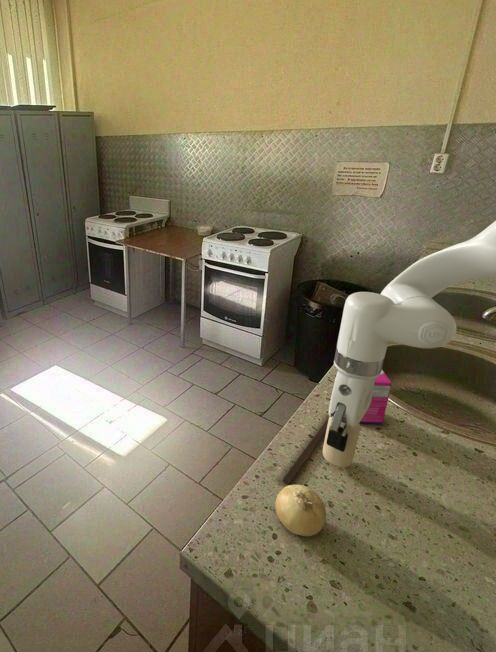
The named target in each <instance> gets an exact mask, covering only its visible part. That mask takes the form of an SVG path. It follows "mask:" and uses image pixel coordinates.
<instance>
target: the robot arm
mask: <svg viewBox="0 0 496 652" xmlns="http://www.w3.org/2000/svg"><path fill="white" fill-rule="evenodd" d="M481 279H496V220H494V221H493V222H492V223H491V224H489V225H488V226H487V227H486V228H485V229H483V230H482V231H481V232H480V233H478V234H476V235H475V236H473V237H472V238H469V239H467V240H464V241H462V242H460V243H457V244H453V245H451V246H448V247H446V248H443V249H441V250H439V251H436V252H433V253H430V254H429V255H427V256H424V257H422V258H421V259H419V260H416V262H413V263H412V264H411V265H410V266H407V268H406V269H405V270H403V271H401V273H399V274H398V275H397V276H396V277H394V278H393V280H391V281H390V282H389V283H387V285H386V286H385V287H384V288H383V290H381V292H380V293H376V292H371V291H357V292H353V293H351V294H349V295H348V296H347V297H346V299H345V302H344V306H343V310H342V316H341V322H340V326H339V332H338V337H337V342H336V348H335V353H334V359H333V365H334V367H335V368H336V369H337V372H336V375H335V378H334V383H333V387H332V391H331V397H330V401H329V406H328V417H329V416H330V417H333V418H332V421H331V425H330V428H329V433H328V438H327V445H329V446H331V447H333V448H335V449H337V450H339V451H341V452H344V450H345V447H346V443H347V438H348V434H347V431H348V427H349V425H350V426H352V427H355V426H357V425H358V424H360V423H359V422H360V421H361V419H362V418H363V416H364V415H365V413H366V411H367V410H368V408H369V406H370V403H371V399H372V394H373V389H374V383H375V378H376V377H378V376H379V375H380V374H381V370H383V367H384V362H385V357H386V353H387V349H388V345H389V343H393V344H394V343H395V344H399V345H404V346H408V347H413V348H419V349H436V348H440V347H441V348H442V347H443V346H445V345H447V344H449V343H450V342H452V341H453V340H454V337H455V336H456V334H457V330H458V329H457V328H458V327H457V323H456V320H455V318H454V317H453V315H452V314H451V313H450V312H449V311H448V310H447V309H445V308H444V307H443V306H441V304H439V303H438V302H436V300H434V299H433V298H434V297H435V296H436V295H438V294H439V293H440V292H442V291H444V290H447V288H449V287H452V286H453V285H456V284H459V283H463V282H467V281H472V280H481ZM343 416H345V417H346V418H344V417H343ZM341 422H343V423H345V425H344V429H343V428H342V427H340V424H341Z"/></svg>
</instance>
